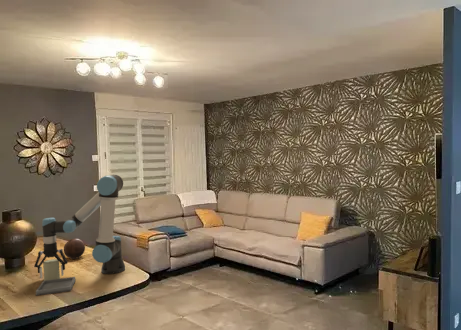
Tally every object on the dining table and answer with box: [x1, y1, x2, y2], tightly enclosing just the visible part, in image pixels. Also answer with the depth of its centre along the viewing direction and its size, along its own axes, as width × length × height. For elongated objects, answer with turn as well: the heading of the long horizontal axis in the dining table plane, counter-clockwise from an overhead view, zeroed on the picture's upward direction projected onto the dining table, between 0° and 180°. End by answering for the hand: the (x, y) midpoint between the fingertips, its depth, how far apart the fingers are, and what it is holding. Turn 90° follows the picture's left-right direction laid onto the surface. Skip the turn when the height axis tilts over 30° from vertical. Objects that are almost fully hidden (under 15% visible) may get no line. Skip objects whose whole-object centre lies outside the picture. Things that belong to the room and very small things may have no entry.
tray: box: [35, 276, 76, 297], centre depth 212 cm, size 18×18×2 cm
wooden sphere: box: [63, 238, 86, 260], centre depth 273 cm, size 15×15×15 cm
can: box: [42, 258, 61, 281], centre depth 227 cm, size 9×9×12 cm
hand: (51, 276), depth 227 cm, fingers open, 12 cm apart
